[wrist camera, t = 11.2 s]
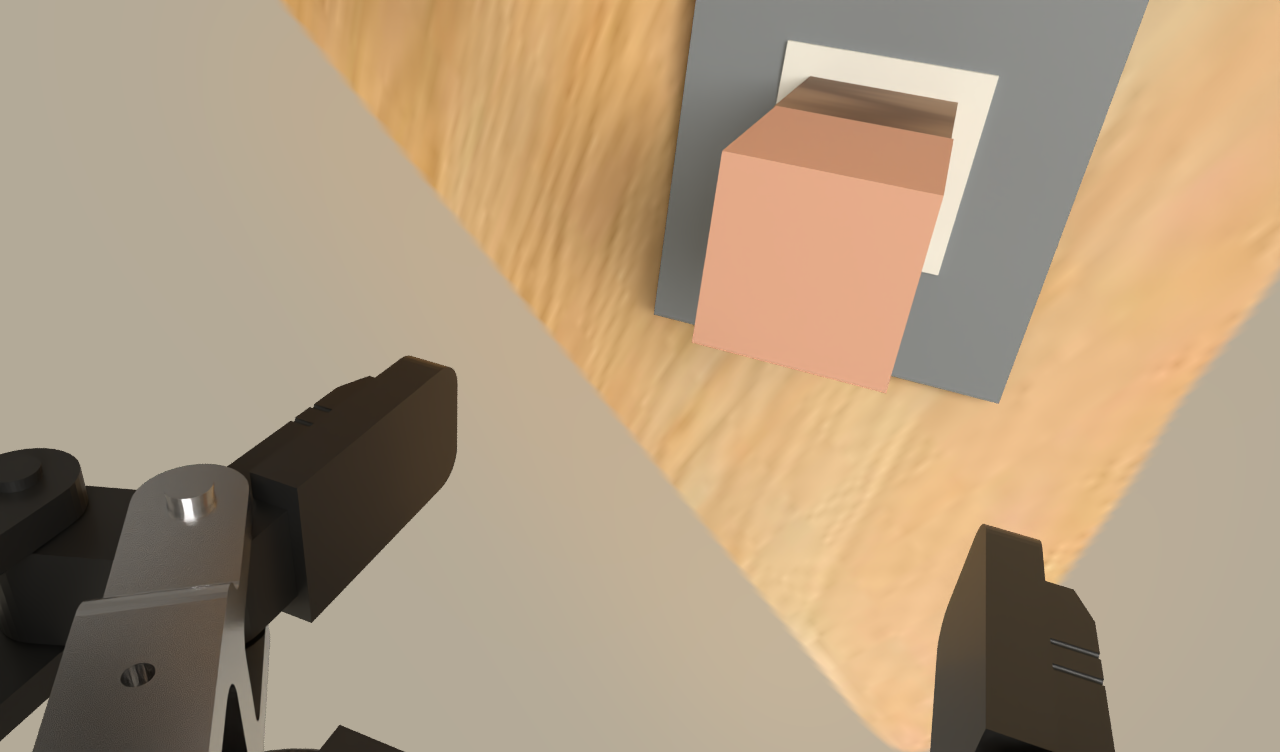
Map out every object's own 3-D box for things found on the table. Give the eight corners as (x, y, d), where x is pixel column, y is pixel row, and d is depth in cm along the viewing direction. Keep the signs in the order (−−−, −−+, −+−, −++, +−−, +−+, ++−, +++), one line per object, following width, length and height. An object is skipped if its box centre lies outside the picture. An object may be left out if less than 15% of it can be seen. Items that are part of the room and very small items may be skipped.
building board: (662, 303, 37) (652, 316, 36) (721, -121, 30) (710, -122, 28) (998, 389, 34) (998, 406, 33) (1166, -64, 26) (1173, -64, 25)
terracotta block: (746, 266, 27) (692, 342, 22) (776, 106, 25) (722, 150, 20) (905, 303, 26) (886, 393, 21) (953, 139, 24) (943, 195, 19)
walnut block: (782, 213, 32) (744, 266, 27) (810, 76, 30) (774, 106, 25) (917, 243, 31) (903, 304, 26) (957, 102, 29) (950, 139, 24)
